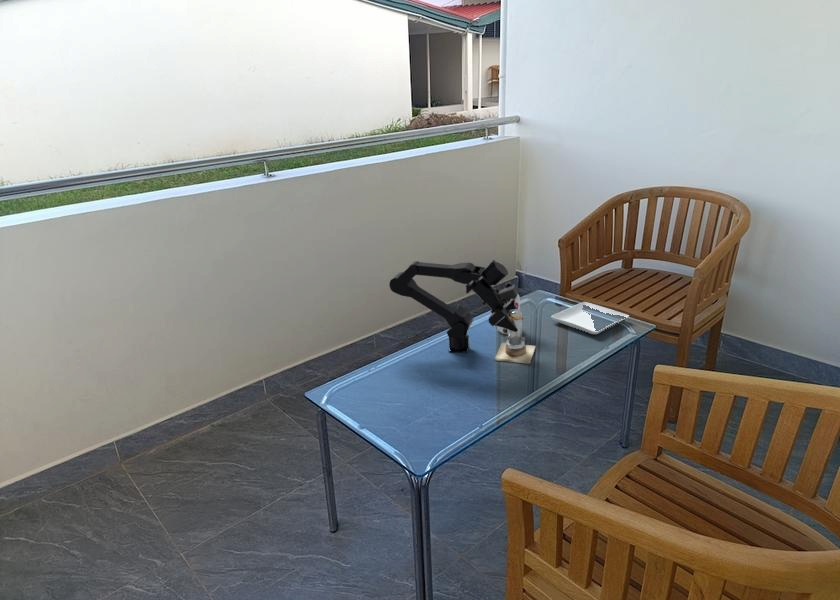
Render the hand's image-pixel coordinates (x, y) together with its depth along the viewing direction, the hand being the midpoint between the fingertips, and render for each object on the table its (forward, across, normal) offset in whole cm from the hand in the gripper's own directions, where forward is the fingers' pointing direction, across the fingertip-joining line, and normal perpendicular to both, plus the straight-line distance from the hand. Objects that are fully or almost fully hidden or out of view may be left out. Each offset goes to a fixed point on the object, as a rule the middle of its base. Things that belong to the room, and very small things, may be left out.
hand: (519, 325), depth 204 cm
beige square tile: (+7, 0, +9) cm, 11 cm away
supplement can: (+3, +18, +13) cm, 23 cm away
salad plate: (+23, +31, -7) cm, 40 cm away
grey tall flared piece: (+5, 0, +7) cm, 8 cm away
